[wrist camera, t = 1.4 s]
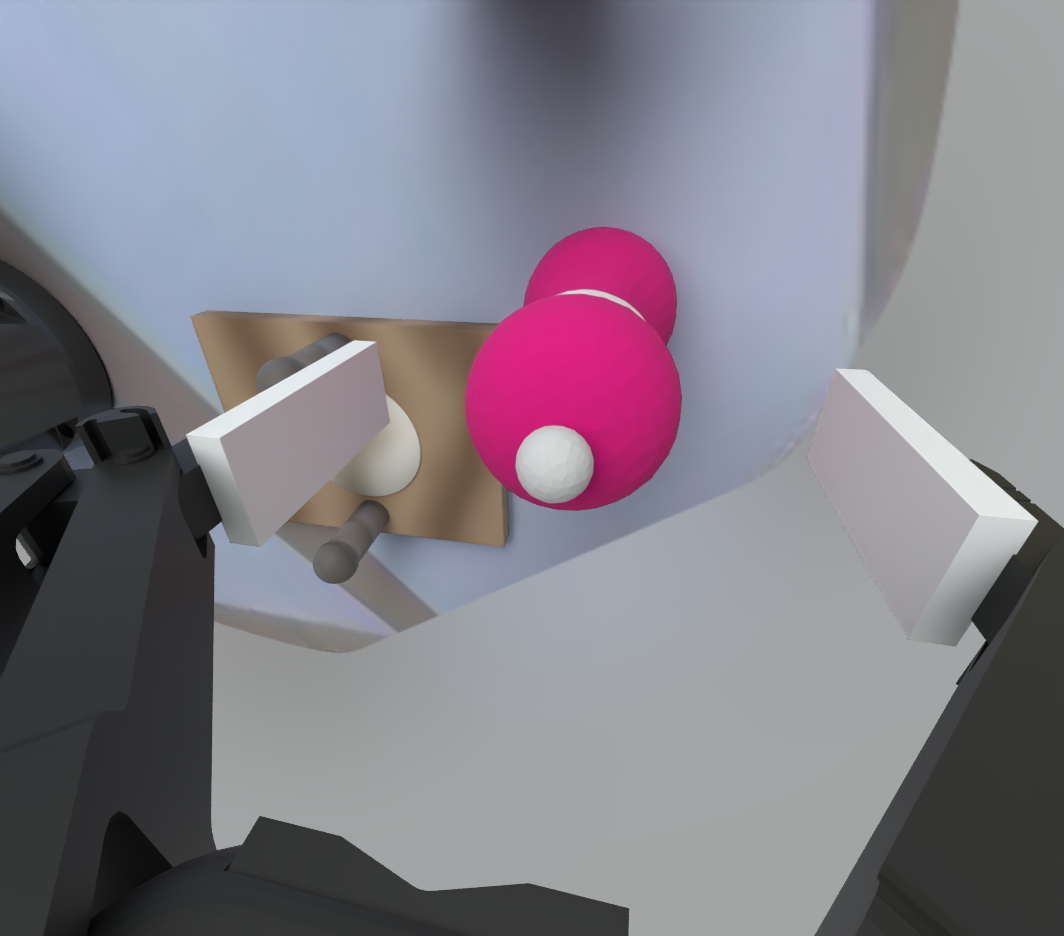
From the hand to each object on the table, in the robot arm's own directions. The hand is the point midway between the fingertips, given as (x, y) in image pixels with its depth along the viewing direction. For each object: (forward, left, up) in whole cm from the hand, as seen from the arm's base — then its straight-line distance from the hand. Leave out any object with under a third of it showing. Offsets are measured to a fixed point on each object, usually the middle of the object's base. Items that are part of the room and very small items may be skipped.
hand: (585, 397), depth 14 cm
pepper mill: (0, 0, -15) cm, 15 cm away
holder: (-16, -10, -15) cm, 24 cm away
